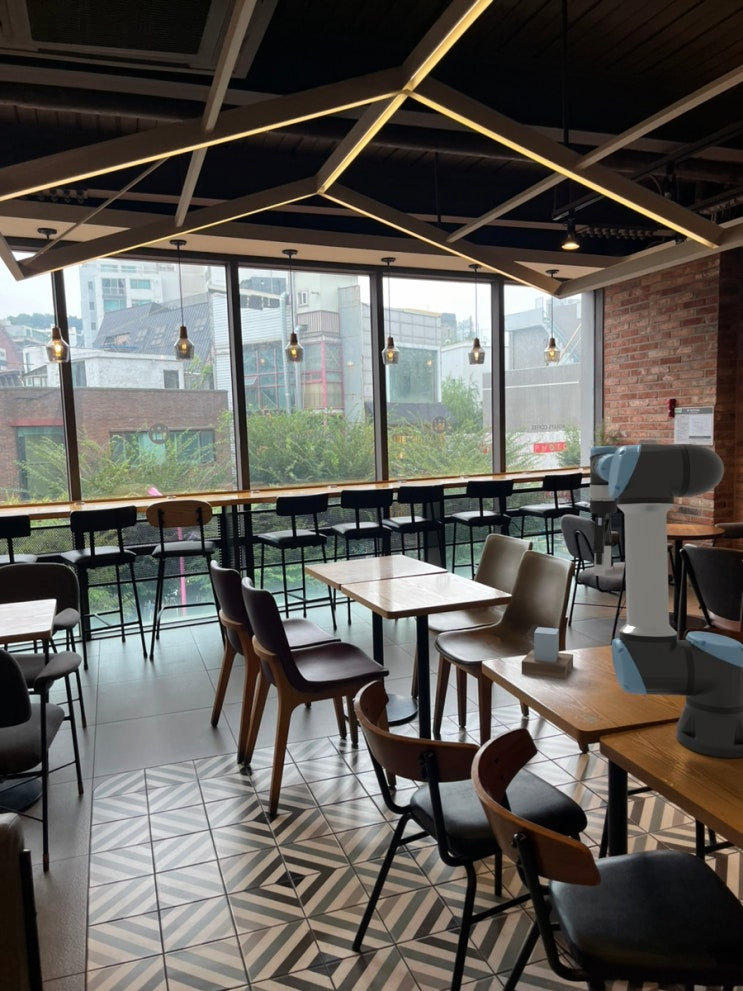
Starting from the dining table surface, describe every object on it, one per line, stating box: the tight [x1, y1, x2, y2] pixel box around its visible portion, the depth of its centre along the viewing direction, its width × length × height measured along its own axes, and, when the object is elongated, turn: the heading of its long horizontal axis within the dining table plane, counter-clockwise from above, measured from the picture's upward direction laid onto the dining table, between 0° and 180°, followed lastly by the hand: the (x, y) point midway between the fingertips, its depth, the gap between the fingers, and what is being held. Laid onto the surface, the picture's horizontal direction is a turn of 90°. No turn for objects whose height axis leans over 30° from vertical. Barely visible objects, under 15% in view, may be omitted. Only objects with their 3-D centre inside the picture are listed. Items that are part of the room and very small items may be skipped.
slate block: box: [533, 626, 560, 663], centre depth 197 cm, size 6×6×8 cm
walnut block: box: [521, 649, 574, 680], centre depth 198 cm, size 12×12×4 cm
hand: (602, 571), depth 203 cm, fingers open, 13 cm apart
